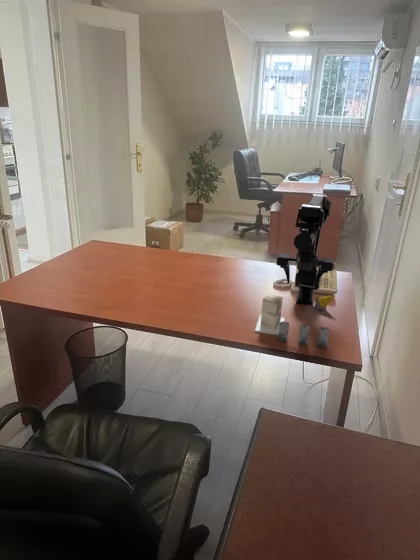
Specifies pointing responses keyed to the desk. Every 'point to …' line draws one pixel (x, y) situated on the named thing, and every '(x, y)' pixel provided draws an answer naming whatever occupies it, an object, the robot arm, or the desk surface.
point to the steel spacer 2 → (323, 337)
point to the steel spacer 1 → (283, 331)
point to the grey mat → (265, 329)
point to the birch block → (271, 311)
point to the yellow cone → (323, 302)
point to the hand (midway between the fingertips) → (301, 284)
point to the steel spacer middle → (304, 334)
